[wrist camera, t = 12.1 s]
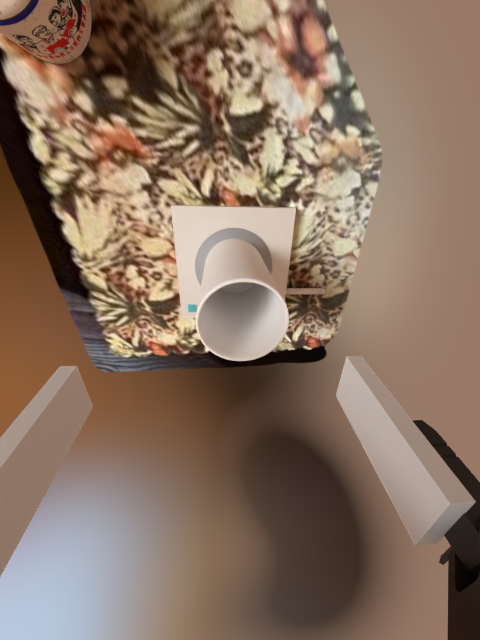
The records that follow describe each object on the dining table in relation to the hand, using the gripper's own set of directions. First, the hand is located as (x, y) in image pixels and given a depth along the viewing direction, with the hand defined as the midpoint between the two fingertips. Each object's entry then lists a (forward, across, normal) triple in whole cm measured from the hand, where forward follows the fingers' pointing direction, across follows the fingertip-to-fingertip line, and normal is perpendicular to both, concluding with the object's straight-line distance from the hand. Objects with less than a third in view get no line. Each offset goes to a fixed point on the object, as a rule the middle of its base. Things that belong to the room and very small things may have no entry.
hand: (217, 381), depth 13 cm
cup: (+26, +2, -2) cm, 26 cm away
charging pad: (+27, +5, -3) cm, 28 cm away
